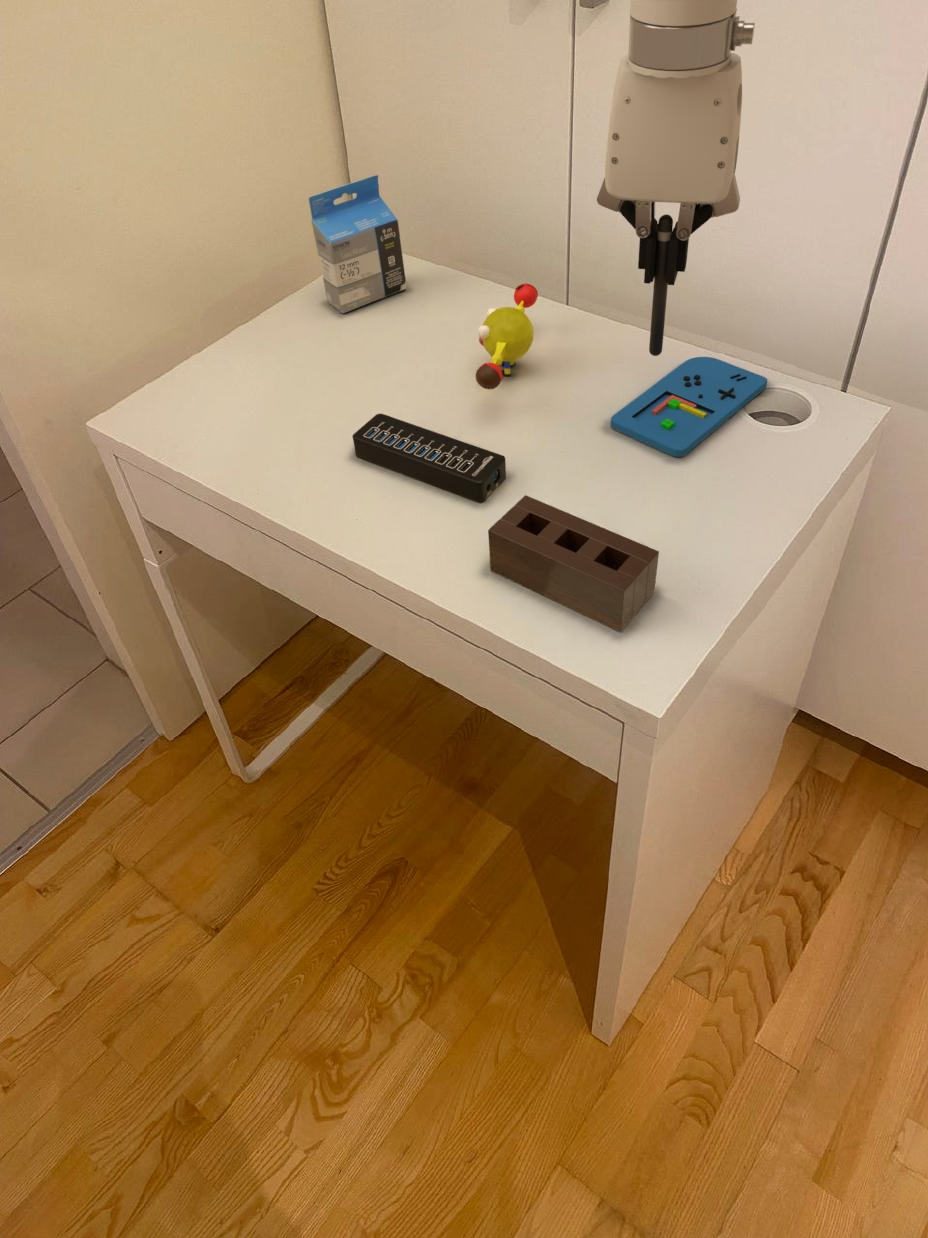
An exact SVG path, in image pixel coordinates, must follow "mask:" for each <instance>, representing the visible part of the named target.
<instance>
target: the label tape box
mask: <svg viewBox="0 0 928 1238" xmlns="http://www.w3.org/2000/svg"><path fill="white" fill-rule="evenodd" d="M344 194H346V195H348V196H350V195H353V194H356V196H355V197H354V198H352V199H351V198H350V199H348V200H346V201H342V202H339V203H336V204H335V200H338V199H340V198H342V197H343V195H344ZM308 204H309V209H310V215H311V225H312V231H313V236H314V241H315V245H316V249H317V254H318V261H319V265H320V270H321V275H322V281H323V285H324V290H325V295H326V299H327V303H328V304H330V305H331V306H332V307H333V308H334V309H335V310H337V311H338V312H340V313H341V314H346V313H349V312H351V311H353V310H355V309H359V308H361V307H363V306H366V305H369V304H371V303H373V302H376V301H379V300H381V299H384V298H385V297H388V296H391V295H393V294H396V293H399V292H401V291H404V290H407V280H406V279H407V278H406V272H405V264H404V259H403V250H402V242H401V234H400V226H399V220H398V218H397V217H396V215H395V214H394V212H392V210H391V208H390V207H389V206H388V205H387V203H386V202H385V201H384V199H383V198H382V197H381V195H380V185H379V175H378V174H376V175H375V174H374V175H372V176H368V177H365V178H363V179H362V178H361V179H359V180H356V181H352V182H350V183H346V184H344V185H340V186H337V187H335V188H331V189H329V190H325V191H322V192H320V193H319V192H318V193H316V194H313V195H310V196H308Z"/></svg>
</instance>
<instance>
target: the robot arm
mask: <svg viewBox="0 0 928 1238" xmlns="http://www.w3.org/2000/svg"><path fill="white" fill-rule="evenodd" d="M737 5H738V0H630V9H629V11H630V12H629V30H628V31H629V33H628V34H629V35H628V53H626V54H624V55H622V56H621V58H620V61H619V64H618V69H617V73H616V78H615V82H614V88H613V93H612V100H611V108H610V115H609V123H608V133H607V142H606V151H605V165H604V166H605V167H604V178H603V180H602V184H601V186H600V189H599V191H598V194H597V197H596V202H597V204H598V205H599V206H601V207H603V208H606V209H608V210H611V211H613V212H616V213H620V214H621V215H622V217H623V218H624V219H625V220H626V221H627V222H628V223H629V225H631V227H632V228H633V229H634V230H635V235H636V237H638V238H639V243H638V260H637V268H638V270H644V276H643V283H644V284H648V285H650V284H651V283H654V277H655V264H656V250H657V232H658V222H659V220H657V219H656V203H671V204H673V203H674V204H679V209H678V210H679V212H678V217H677V221H676V222H675V225H674V226H673V228H672V230H673V231H672V235H671V238H670V241H669V249H668V261H667V273H666V283H668V286H675V283H676V280H677V277H678V273H685V272H686V267H687V261H688V251H689V242H690V237H691V235H692V234H694V233H695V232H696V231H697V230H698V229H700V228H701V227H702V226H703V225H704V224H705V223H707V222H708V221H709V220H710V219H712V218H719V217H722V216H726V215H729V214H732V213H736V212H737V211H738V210H739V207H740V202H741V196H740V191H739V187H738V183H737V178H736V169H737V162H738V154H739V146H740V145H739V144H740V135H741V134H740V132H741V122H742V108H743V107H742V105H743V104H742V103H743V71H742V60H741V56H740V55H738V54H737V53H734V52H732V51H736V48H737V47H742V45H753V40H754V34H755V25H756V23H755V22H745V20H740V16H738V15H737V11H738V9H737Z"/></svg>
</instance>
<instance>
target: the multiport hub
mask: <svg viewBox="0 0 928 1238" xmlns="http://www.w3.org/2000/svg"><path fill="white" fill-rule="evenodd" d="M352 442H353V447H354V451H355V452H354V453H355V456H356V457H357V458H358V459H361V460H364V461H366V462H369V463H372V464H374V465H377V466H380V467H382V468H385V469H387V470H391V471H393V472H395V473H398V474H400V475H401V474H402V475H404V476H406V477H409V478H412V479H414V480H416V481H419V482H422V483H425V484H428V485H430V486H433V487H436V488H438V489H441V490H443V491H446V492H449V493H451V494H454V495H457V496H460V497H461V498H465V499H467V500H470V501H473V502H476V503H479V504H482V503H484V502H486V500H487V499H489V497H491V495H492V494H493V493H494V492H495V491H496V490H497V489H498V488H499V487H500V486H501V485H502V484H503V482H505V480H506V479H507V466H506V464H507V463H506V462H507V461H506V456H504V455H503V454H499V453H497V452H494V451H491V450H488V449H485V448H482V447H480V446H477V445H474V444H471V443H468V442H465V441H462V440H460V439H457V438H454V437H451V436H447V435H446V434H445V435H444V434H442V433H439V432H436V431H434V430H430V429H429V428H424V427H422V426H419V425H416V424H413V423H411V422H408V421H404V420H402V419H399V418H396V417H393V416H390V415H388V414H384V413H377V414H375V415H373V416H372V418H371V419H369V420H368V421H367V422H366V423H365V424H364V425H362V426H361V427H360V428H359V429H357V431H355V432H354V433H353V435H352Z"/></svg>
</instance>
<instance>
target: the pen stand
mask: <svg viewBox="0 0 928 1238" xmlns="http://www.w3.org/2000/svg"><path fill="white" fill-rule="evenodd" d="M487 535H488V548H489V549H488V551H489V566H490V567H489V568H490V571H491V572H493V573H495V574H497V575H499V576H500V577H502V578H505V579H507V580H509V581H511V582H513V583H515V584H518V585H520V586H522V587H524V588H526V589H528V590H531V591H532V592H535V593H537V594H538V595H541V596H543V597H545V598H548V599H549V600H552V601H553V602H555V603H557V604H560V605H562V606H564V607H566V608H568V609H570V610H572V611H575V612H576V613H579V614H581V615H582V616H585V617H587V618H590V619H591V620H593V621H595V622H598V623H600V624H602V625H604V626H606V627H608V628H610V629H612V630H614V631H617V632H619V633H622V632H623V631H624V629H625V628H626V627H627V626H628V624H630V622H631V621H632V620H633V619H634V617H636V616H637V614H638V613H639V612H640V611H641V610H642V608H643V607H644V606H645V604H646V603H647V602H648V601H649V600H650V599H651V597H652V596H653V595H654V594H655V591H656V582H657V581H656V580H657V575H658V563H659V557H660V556H659V555H660V551H658V550H657V549H654V548H652V547H649V546H647V545H645V544H643V543H640V542H638V541H635V540H633V539H630V538H628V537H626V536H623V535H621V534H619V533H616V532H614V531H612V530H609V529H607V528H604V527H602V526H600V525H598V524H596V523H593V522H591V521H588V520H586V519H583V518H581V517H579V516H576V515H574V514H571V513H569V512H567V511H564V510H562V509H560V508H557V507H554V506H553V505H551V504H548V503H545V502H543V501H541V500H539V499H536V498H534V497H532V496H529V495H526V494H525V495H524V496H523V497H522V498H521V499H520V500H518V501H517V502H516V503H515V504H514V505H513V506H512V507H511V508H510V509H509V510H508V511H507V512H506V513H505V514H504V515H502V517H500V518H499V519H498V520H497V521H496V522H495V523H494V524H493V525H491V527H490V528H489V529H488V530H487Z"/></svg>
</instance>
